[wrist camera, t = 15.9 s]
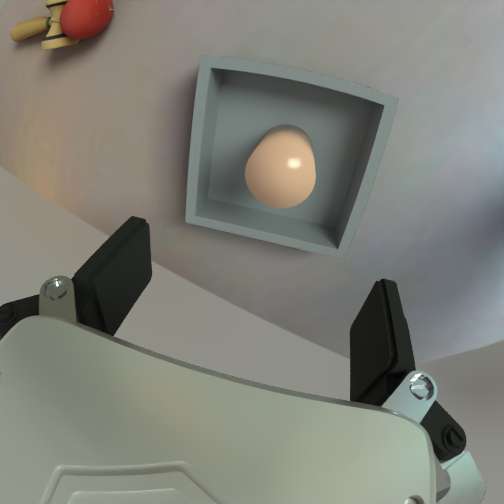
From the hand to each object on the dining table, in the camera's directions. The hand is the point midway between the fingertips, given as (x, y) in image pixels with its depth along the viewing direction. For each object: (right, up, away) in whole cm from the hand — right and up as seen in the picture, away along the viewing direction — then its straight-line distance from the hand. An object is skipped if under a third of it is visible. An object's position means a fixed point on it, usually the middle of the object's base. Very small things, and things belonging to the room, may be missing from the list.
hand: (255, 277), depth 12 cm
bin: (+3, +11, +16) cm, 20 cm away
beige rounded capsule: (+3, +11, +15) cm, 19 cm away
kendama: (-23, +29, +10) cm, 38 cm away
